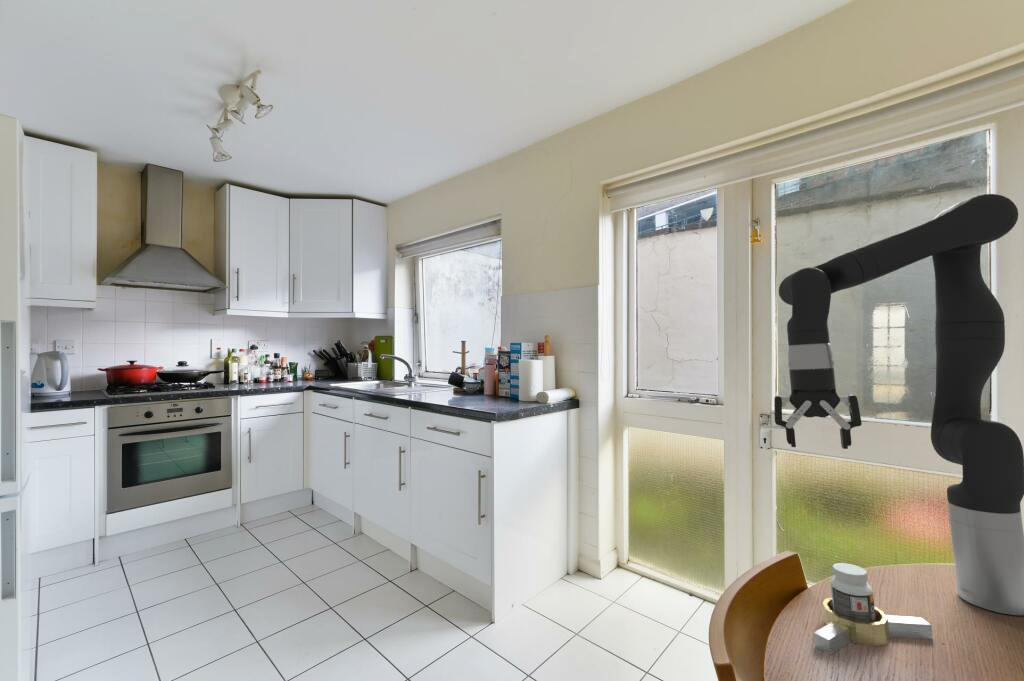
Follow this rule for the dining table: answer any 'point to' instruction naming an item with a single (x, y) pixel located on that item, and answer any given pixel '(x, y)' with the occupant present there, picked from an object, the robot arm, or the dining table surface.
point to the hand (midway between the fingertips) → (818, 447)
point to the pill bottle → (852, 593)
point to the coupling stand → (866, 629)
